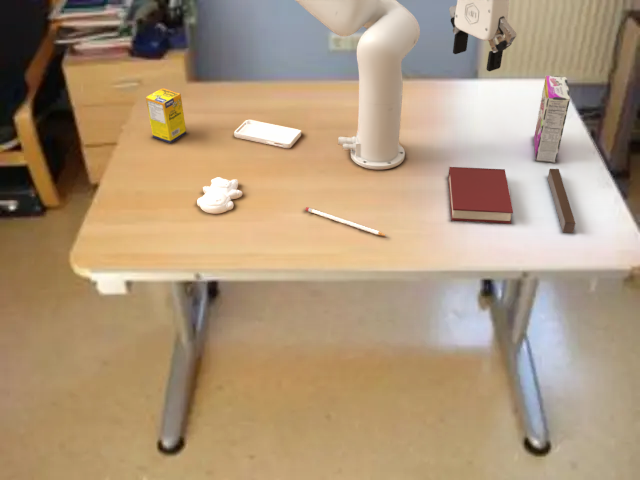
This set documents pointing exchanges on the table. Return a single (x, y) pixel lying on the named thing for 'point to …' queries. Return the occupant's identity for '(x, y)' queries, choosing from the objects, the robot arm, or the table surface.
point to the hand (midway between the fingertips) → (476, 60)
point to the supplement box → (166, 115)
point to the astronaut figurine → (219, 196)
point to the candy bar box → (551, 118)
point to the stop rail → (561, 201)
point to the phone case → (268, 133)
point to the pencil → (345, 221)
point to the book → (479, 195)
